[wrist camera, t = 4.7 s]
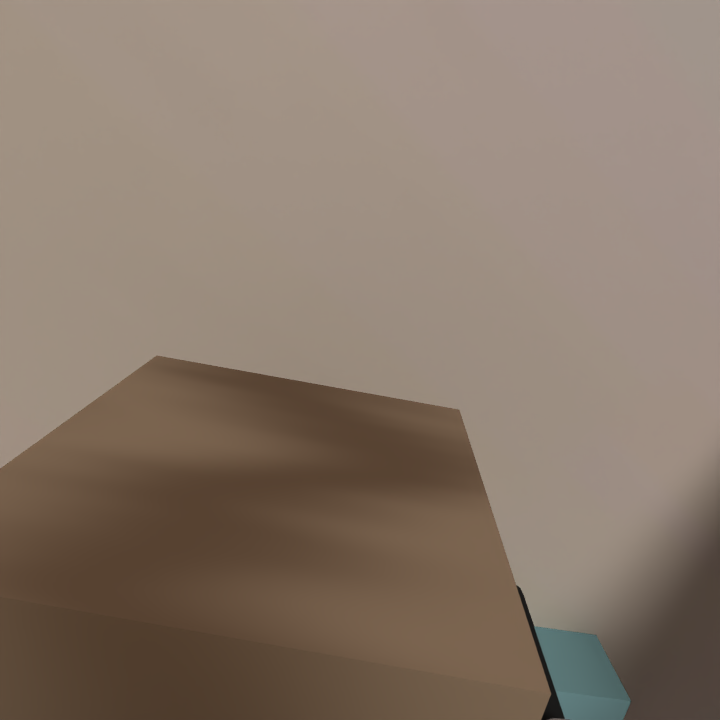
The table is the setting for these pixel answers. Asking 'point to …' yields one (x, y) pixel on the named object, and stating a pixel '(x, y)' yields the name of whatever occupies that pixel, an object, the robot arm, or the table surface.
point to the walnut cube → (257, 560)
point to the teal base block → (582, 676)
